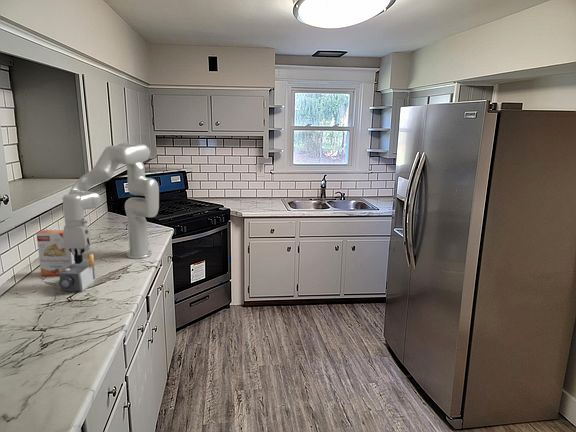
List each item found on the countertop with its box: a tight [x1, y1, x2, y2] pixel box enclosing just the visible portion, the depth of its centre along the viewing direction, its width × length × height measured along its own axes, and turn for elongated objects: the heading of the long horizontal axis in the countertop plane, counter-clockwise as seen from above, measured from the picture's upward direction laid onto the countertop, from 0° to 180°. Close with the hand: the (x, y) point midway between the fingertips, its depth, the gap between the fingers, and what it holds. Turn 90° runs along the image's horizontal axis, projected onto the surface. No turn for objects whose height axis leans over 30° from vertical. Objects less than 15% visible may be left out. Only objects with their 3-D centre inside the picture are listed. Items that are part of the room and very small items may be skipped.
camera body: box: [58, 261, 96, 292], centre depth 177 cm, size 17×8×9 cm, turn 1°
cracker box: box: [36, 229, 75, 277], centre depth 188 cm, size 14×6×21 cm, turn 98°
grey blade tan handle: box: [78, 253, 95, 293], centre depth 175 cm, size 11×2×13 cm, turn 1°
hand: (78, 262), depth 179 cm, fingers closed
